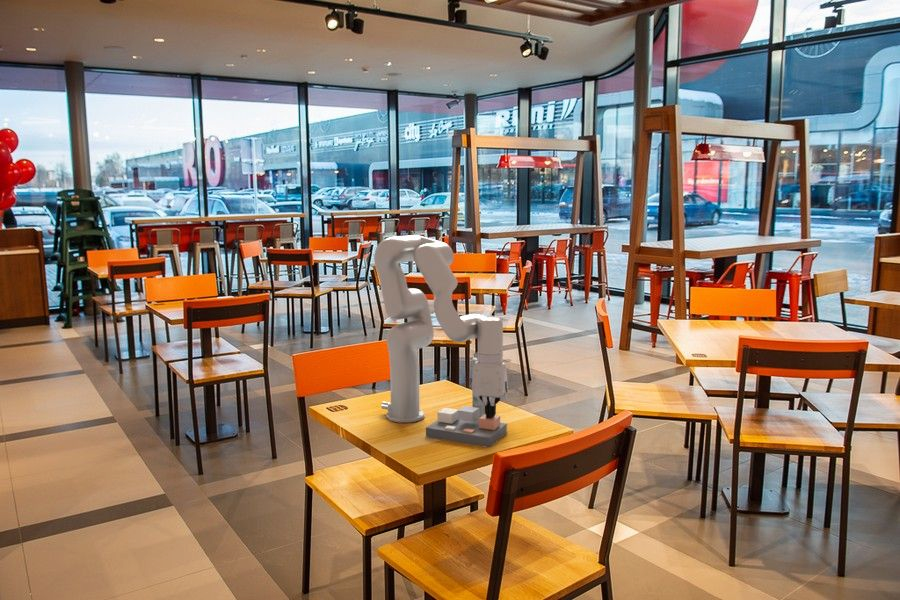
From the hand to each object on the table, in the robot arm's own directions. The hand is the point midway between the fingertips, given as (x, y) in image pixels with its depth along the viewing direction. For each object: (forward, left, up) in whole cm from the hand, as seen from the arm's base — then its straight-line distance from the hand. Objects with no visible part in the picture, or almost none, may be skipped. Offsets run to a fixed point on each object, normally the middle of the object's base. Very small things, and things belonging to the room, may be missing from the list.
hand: (490, 417), depth 210 cm
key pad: (-7, -1, -6) cm, 10 cm away
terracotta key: (0, 0, -3) cm, 3 cm away
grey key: (-7, 0, -1) cm, 7 cm away
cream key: (-14, 0, -3) cm, 15 cm away
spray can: (-10, +17, -7) cm, 20 cm away
